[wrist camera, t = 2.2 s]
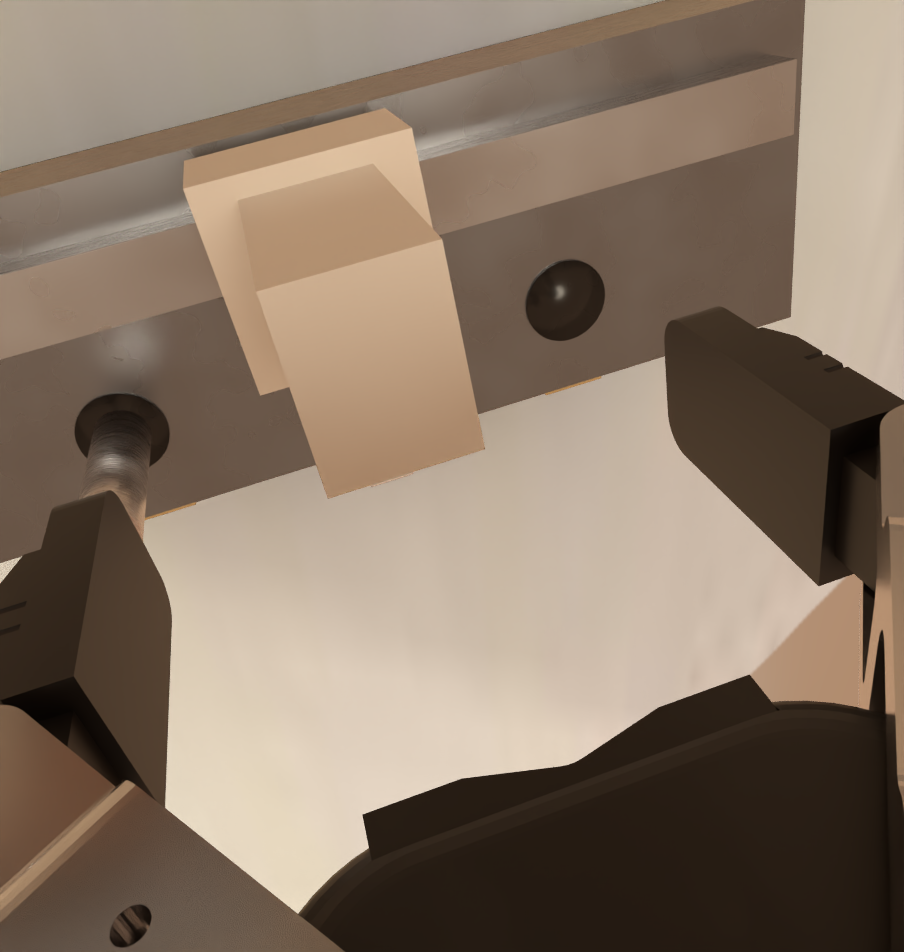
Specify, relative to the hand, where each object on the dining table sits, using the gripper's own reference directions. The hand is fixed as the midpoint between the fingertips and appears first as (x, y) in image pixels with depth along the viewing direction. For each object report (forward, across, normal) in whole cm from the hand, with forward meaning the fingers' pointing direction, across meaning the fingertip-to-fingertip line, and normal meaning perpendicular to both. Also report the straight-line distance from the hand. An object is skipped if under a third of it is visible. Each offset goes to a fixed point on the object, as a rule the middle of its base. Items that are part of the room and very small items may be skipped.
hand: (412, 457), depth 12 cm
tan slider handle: (+13, 0, +2) cm, 13 cm away
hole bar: (+17, -1, +2) cm, 17 cm away
